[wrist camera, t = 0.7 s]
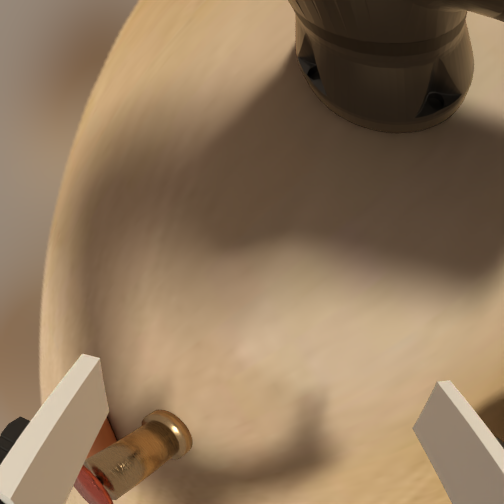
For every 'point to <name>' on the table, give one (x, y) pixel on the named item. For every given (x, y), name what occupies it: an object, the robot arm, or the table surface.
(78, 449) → the robot arm
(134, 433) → the valve
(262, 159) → the table surface
